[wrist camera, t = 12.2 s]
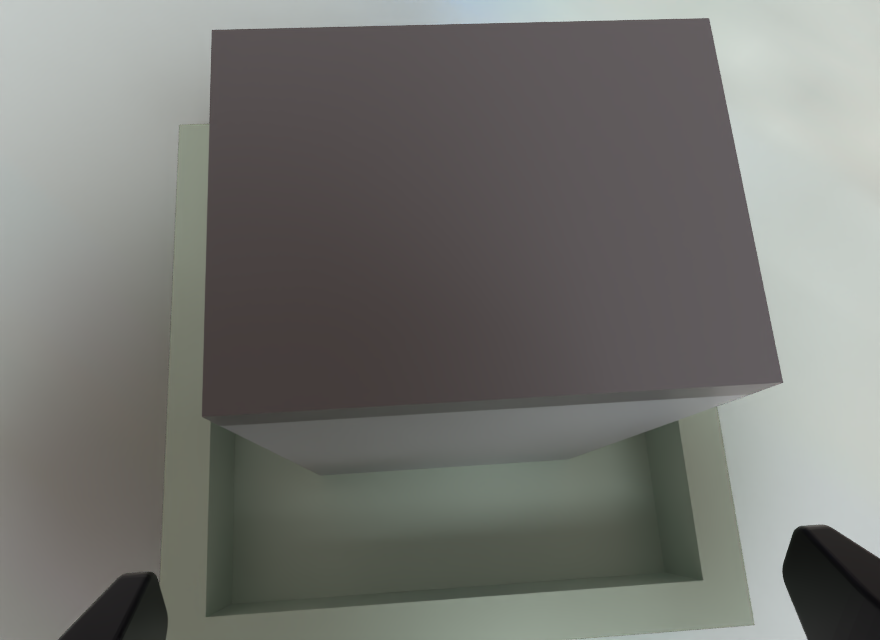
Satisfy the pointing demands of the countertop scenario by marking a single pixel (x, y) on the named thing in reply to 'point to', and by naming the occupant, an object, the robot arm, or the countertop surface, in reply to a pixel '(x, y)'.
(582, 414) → the grey rectangular block
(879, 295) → the countertop surface
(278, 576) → the tray
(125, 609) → the robot arm
